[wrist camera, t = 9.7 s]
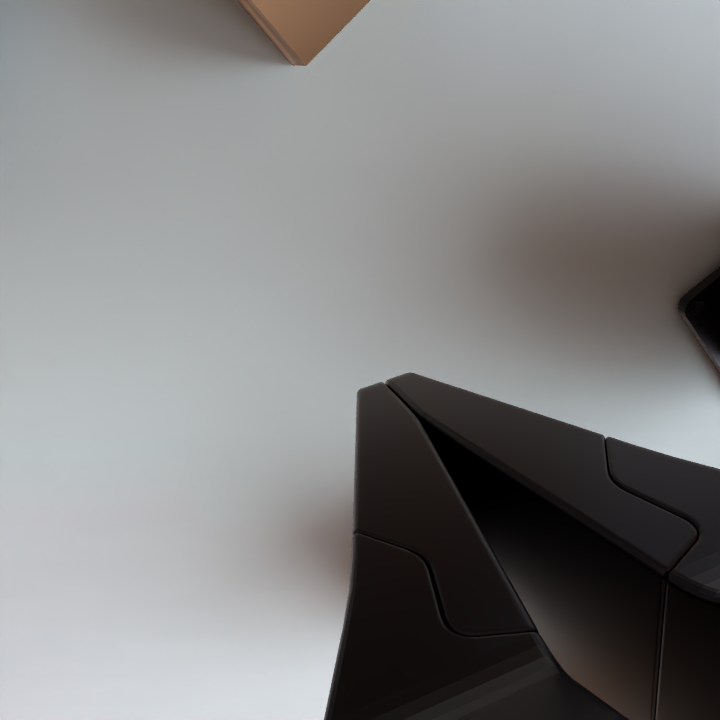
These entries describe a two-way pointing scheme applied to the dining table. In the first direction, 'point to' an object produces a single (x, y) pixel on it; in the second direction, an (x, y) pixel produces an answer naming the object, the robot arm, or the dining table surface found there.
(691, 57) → the dining table surface
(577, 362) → the dining table surface
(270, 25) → the lever stand
